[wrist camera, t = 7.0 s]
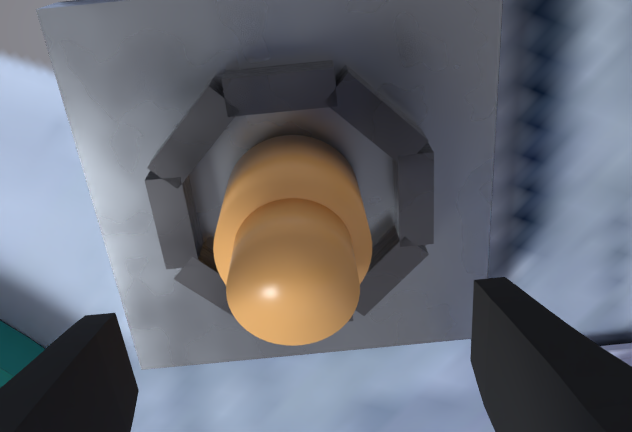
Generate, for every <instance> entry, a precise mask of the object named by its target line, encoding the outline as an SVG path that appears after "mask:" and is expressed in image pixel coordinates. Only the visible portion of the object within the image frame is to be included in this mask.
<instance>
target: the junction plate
mask: <svg viewBox="0 0 632 432" xmlns="http://www.w3.org/2000/svg"><path fill="white" fill-rule="evenodd" d="M502 3H503V0H76V1H66V2H57V3H54V4H51V5H48V6H45V7H42V8H39V9H36V11H37V15H38V18H39V22H40V25H41V29H42V32H43V35H44V39H45V42H46V46H47V49H48V52H49V55H50V59H51V63H52V66H53V69H54V73H55V76H56V80H57V83H58V86H59V90H60V93H61V97H62V100H63V104H64V107H65V110H66V114H67V117H68V121H69V124H70V127H71V131H72V134H73V138H74V141H75V144H76V148H77V151H78V155H79V158H80V161H81V165H82V168H83V172H84V175H85V178H86V182H87V185H88V189H89V192H90V195H91V199H92V202H93V206H94V209H95V213H96V216H97V219H98V223H99V226H100V230H101V233H102V236H103V240H104V243H105V247H106V250H107V253H108V257H109V260H110V264H111V267H112V270H113V274H114V277H115V281H116V284H117V287H118V291H119V294H120V298H121V301H122V304H123V308H124V311H125V315H126V318H127V322H128V325H129V328H130V332H131V335H132V339H133V342H134V345H135V349H136V352H137V356H138V359H139V362H140V366H141V369H142V370H144V369H155V368H165V367H176V366H187V365H197V364H208V363H219V362H229V361H240V360H250V359H261V358H272V357H282V356H293V355H303V354H314V353H325V352H335V351H346V350H357V349H367V348H378V347H388V346H399V345H410V344H420V343H431V342H441V341H452V340H463V339H471V338H472V313H473V288H474V280H478V279H488V260H489V242H490V224H491V205H492V187H493V168H494V150H495V132H496V113H497V95H498V77H499V58H500V40H501V22H502ZM284 135H302V136H307V137H312V138H315V139H318V140H321V141H323V142H325V143H327V144H329V145H330V146H332V147H333V148H335V149H336V150H337V151H338V152H340V153H341V154H342V155H343V156H344V158H345V159H346V160H347V161H348V162H349V164H350V166H351V167H352V169H353V171H354V173H355V175H356V178H357V182H358V185H359V189H360V193H361V197H362V201H363V205H364V209H365V213H366V217H367V221H368V225H369V229H370V233H371V238H372V257H371V262H370V265H369V268H368V271H367V273H366V275H365V277H364V279H363V281H362V282H361V284H360V296H359V301H358V304H357V307H356V309H355V311H354V313H353V315H352V317H351V318H350V319H349V321H348V322H347V323H346V324H345V325H344V326H343V327H342V328H341V329H340V330H339V331H337V332H336V333H334V334H333V335H331V336H329V337H327V338H325V339H323V340H320V341H318V342H314V343H311V344H305V345H295V346H290V345H280V344H275V343H271V342H267V341H265V340H262V339H260V338H258V337H256V336H254V335H253V334H251V333H250V332H248V331H247V330H246V329H245V328H244V327H242V326H241V325H240V323H239V322H238V321H237V320H236V319H235V317H234V315H233V314H232V312H231V310H230V308H229V305H228V301H227V295H226V285H225V283H224V281H223V280H222V278H221V277H220V274H219V272H218V270H217V267H216V264H215V260H214V252H213V245H214V237H215V232H216V228H217V224H218V220H219V216H220V212H221V208H222V204H223V200H224V196H225V192H226V188H227V184H228V180H229V177H230V174H231V172H232V170H233V168H234V166H235V165H236V163H237V162H238V160H239V159H240V158H241V157H242V156H243V155H244V154H245V153H246V152H247V151H248V150H250V149H251V148H252V147H254V146H255V145H257V144H259V143H261V142H263V141H265V140H267V139H270V138H274V137H278V136H284Z"/></svg>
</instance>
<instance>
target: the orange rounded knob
mask: <svg viewBox="0 0 632 432" xmlns="http://www.w3.org/2000/svg"><path fill="white" fill-rule="evenodd" d="M213 252H214V260H215V264H216V267H217V270H218V272H219V274H220V277H221V278H222V280H223V281H224V283H225V285H226V295H227V301H228V305H229V308H230V310H231V312H232V314H233V315H234V317H235V319H236V320H237V321H238V322H239V323H240V325H241V326H242V327H244V328H245V329H246V330H247V331H248V332H250V333H251V334H253V335H254V336H256V337H258V338H260V339H262V340H265V341H267V342H271V343H275V344H280V345H290V346H295V345H305V344H311V343H314V342H318V341H320V340H323V339H325V338H327V337H329V336H331V335H333V334H334V333H336V332H337V331H339V330H340V329H341V328H342V327H343V326H344V325H345V324H346V323H347V322H348V321H349V319H350V318H351V317H352V315H353V313H354V311H355V309H356V307H357V304H358V301H359V296H360V284H361V282H362V281H363V279H364V277H365V275H366V273H367V271H368V268H369V265H370V262H371V257H372V238H371V233H370V229H369V225H368V221H367V217H366V213H365V209H364V205H363V201H362V197H361V193H360V189H359V185H358V182H357V178H356V175H355V173H354V171H353V169H352V167H351V166H350V164H349V162H348V161H347V160H346V159H345V158H344V156H343V155H342V154H341V153H340V152H338V151H337V150H336V149H335V148H333V147H332V146H330V145H329V144H327V143H325V142H323V141H321V140H318V139H315V138H312V137H307V136H302V135H284V136H278V137H274V138H270V139H267V140H265V141H263V142H261V143H259V144H257V145H255V146H254V147H252V148H251V149H250V150H248V151H247V152H246V153H245V154H244V155H243V156H242V157H241V158H240V159H239V160H238V162H237V163H236V165H235V166H234V168H233V170H232V172H231V174H230V177H229V180H228V184H227V188H226V192H225V196H224V200H223V204H222V208H221V212H220V216H219V220H218V224H217V228H216V232H215V237H214V245H213Z"/></svg>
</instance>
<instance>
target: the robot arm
mask: <svg viewBox="0 0 632 432" xmlns="http://www.w3.org/2000/svg"><path fill="white" fill-rule="evenodd" d="M471 363H472V367H473V370H474V374H475V377H476V381H477V384H478V388H479V391H480V394H481V397H482V400H483V404H484V407H485V409H486V411H487V414H488V416H489V418H490V420H491V423H492V425H493V427H494V430H495V432H632V343H627V344H616V345H606V346H599V345H597V344H596V343H594V342H593V341H591V340H590V339H588V338H587V337H585V336H584V335H582V334H581V333H580V332H578V331H577V330H575V329H574V328H572V327H571V326H570V325H568V324H567V323H565V322H564V321H563V320H561V319H560V318H559V317H557V316H556V315H555V314H553V313H552V312H551V311H549V310H548V309H547V308H545V307H544V306H543V305H541V304H540V303H539V302H537V301H536V300H535V299H533V298H532V297H531V296H529V295H528V294H527V293H525V292H524V291H523V290H522V289H520V288H519V287H518V286H516V285H515V284H514V283H512V282H511V281H509V280H508V279H507V278H505V277H500V278H489V279H478V280H474V288H473V313H472V338H471ZM137 396H138V387H137V384H136V380H135V377H134V374H133V370H132V367H131V364H130V360H129V357H128V354H127V350H126V347H125V344H124V340H123V337H122V334H121V330H120V327H119V324H118V320H117V317H116V314H115V313H108V314H98V315H87V316H84V317H83V318H82V319H80V320H79V321H78V322H76V323H75V324H74V325H73V326H72V327H70V328H69V329H68V330H67V331H66V332H65V333H63V334H62V335H61V336H60V337H59V338H58V339H56V340H55V341H54V342H53V343H52V344H51V345H50V346H48V347H47V348H46V349H45V350H44V351H43V352H42V353H41V354H39V355H38V356H37V357H36V358H35V359H34V360H32V361H31V362H30V363H29V364H28V365H27V366H25V367H24V368H23V369H22V370H21V371H20V372H19V373H17V374H16V375H15V376H14V377H13V378H12V379H10V380H9V381H8V382H7V383H6V384H5V385H3V386H2V387H1V388H0V432H130V431H131V427H132V422H133V417H134V412H135V407H136V401H137Z"/></svg>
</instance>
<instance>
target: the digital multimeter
mask: <svg viewBox="0 0 632 432" xmlns="http://www.w3.org/2000/svg"><path fill="white" fill-rule="evenodd" d="M44 350H45V349H44V348H43V347H41V346H40V345H39V344H37V343H36V342H34V341H33V340H31V339H30V338H28V337H27V336H25V335H23V334H22V333H20V332H18V331H17V330H15V329H13V328H12V327H10V326H8V325H7V324H5V323H3V322H2V321H0V388H1V387H2V386H3V385H5V384H6V383H7V382H8V381H9V380H10V379H12V378H13V377H14V376H15V375H16V374H17V373H19V372H20V371H21V370H22V369H23V368H24V367H25V366H27V365H28V364H29V363H30V362H31V361H32V360H34V359H35V358H36V357H37V356H38V355H39V354H41V353H42V352H43V351H44Z"/></svg>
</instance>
